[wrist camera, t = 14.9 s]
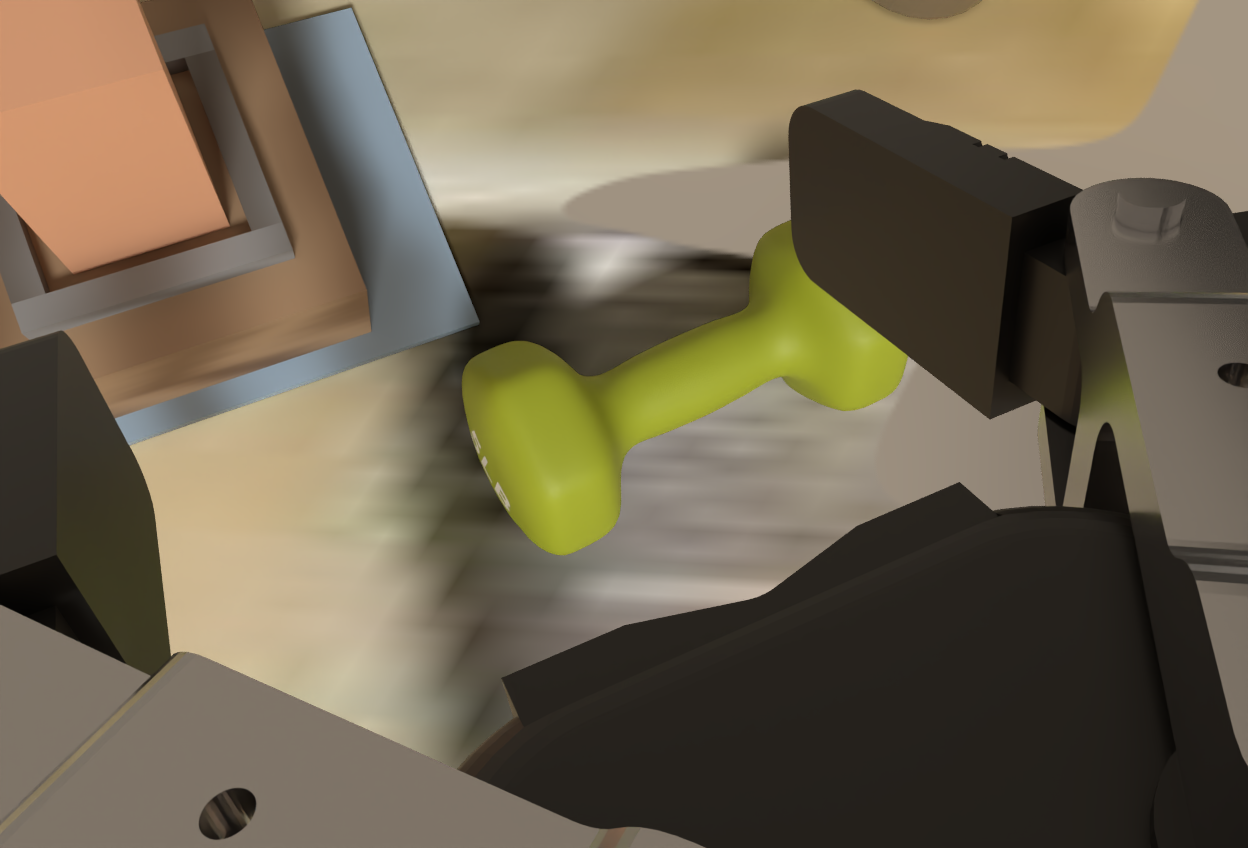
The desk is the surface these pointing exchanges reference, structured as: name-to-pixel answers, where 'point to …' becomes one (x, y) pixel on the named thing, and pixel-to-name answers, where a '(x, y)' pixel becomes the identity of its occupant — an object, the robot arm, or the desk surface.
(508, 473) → the dumbbell
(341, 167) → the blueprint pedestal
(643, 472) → the desk surface
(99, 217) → the terracotta block
